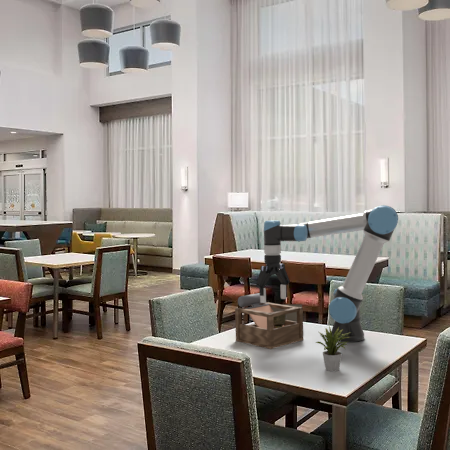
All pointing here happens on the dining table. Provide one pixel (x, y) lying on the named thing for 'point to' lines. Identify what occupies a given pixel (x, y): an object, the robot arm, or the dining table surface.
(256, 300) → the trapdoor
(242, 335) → the wooden slatted crate
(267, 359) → the dining table surface
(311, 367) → the dining table surface
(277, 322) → the cup
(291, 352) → the dining table surface
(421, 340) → the dining table surface
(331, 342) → the house plant
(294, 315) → the laptop
